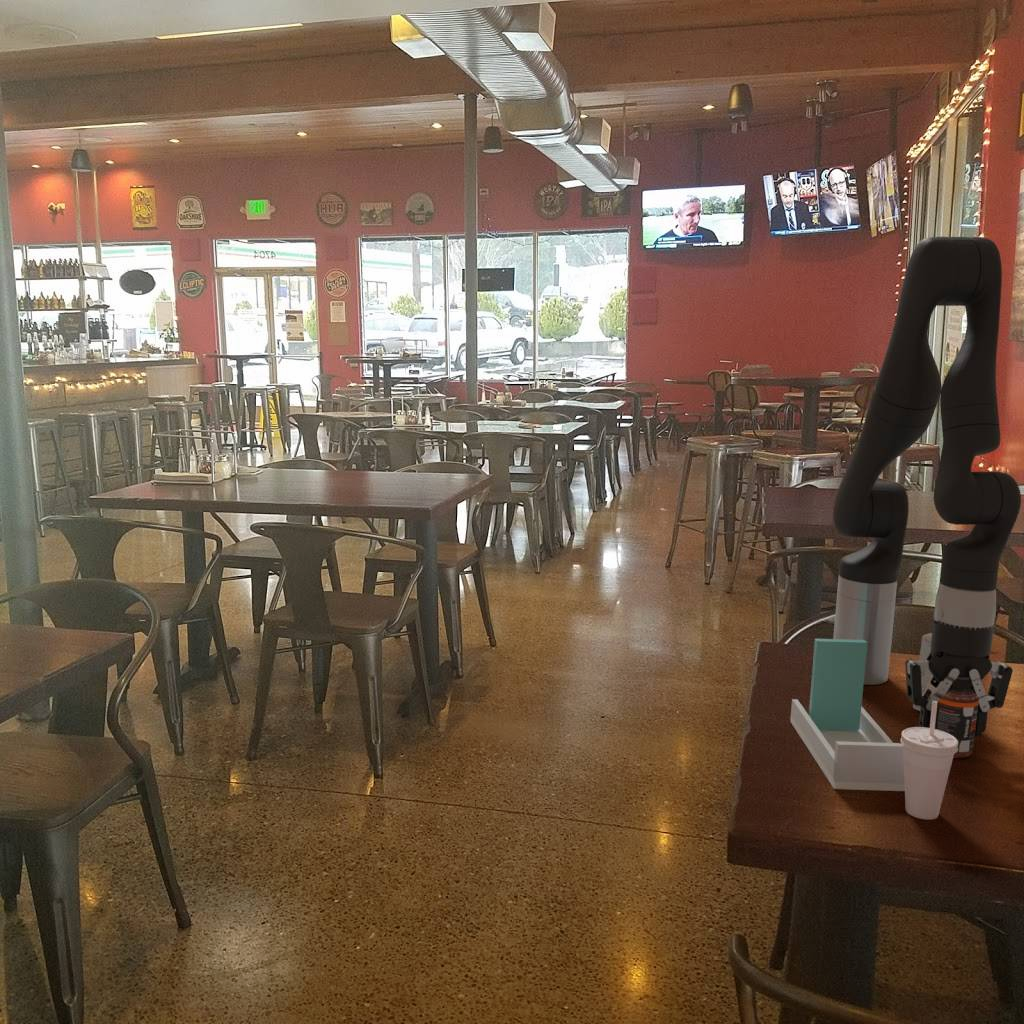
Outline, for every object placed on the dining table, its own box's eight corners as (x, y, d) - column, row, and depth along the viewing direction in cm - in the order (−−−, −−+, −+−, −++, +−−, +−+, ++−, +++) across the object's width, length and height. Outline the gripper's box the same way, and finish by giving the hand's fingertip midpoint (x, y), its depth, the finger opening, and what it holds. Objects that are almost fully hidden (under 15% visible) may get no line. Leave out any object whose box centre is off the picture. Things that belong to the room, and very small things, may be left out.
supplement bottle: (977, 762, 135) (986, 683, 133) (931, 757, 136) (939, 679, 134) (966, 744, 141) (975, 668, 139) (922, 740, 142) (930, 664, 140)
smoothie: (958, 812, 121) (970, 702, 118) (939, 830, 116) (952, 717, 114) (905, 794, 125) (915, 689, 123) (885, 812, 120) (896, 702, 118)
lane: (790, 721, 148) (793, 683, 147) (855, 723, 148) (858, 685, 147) (834, 788, 126) (838, 744, 125) (910, 791, 126) (914, 746, 125)
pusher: (807, 725, 143) (814, 638, 141) (856, 726, 143) (864, 639, 141) (810, 728, 142) (817, 641, 140) (859, 729, 142) (867, 642, 140)
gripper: (1004, 611, 139) (991, 724, 142) (900, 608, 139) (889, 721, 142) (1030, 627, 131) (1016, 746, 134) (921, 623, 132) (908, 743, 135)
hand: (951, 733), depth 138 cm, fingers closed on supplement bottle, 6 cm apart
